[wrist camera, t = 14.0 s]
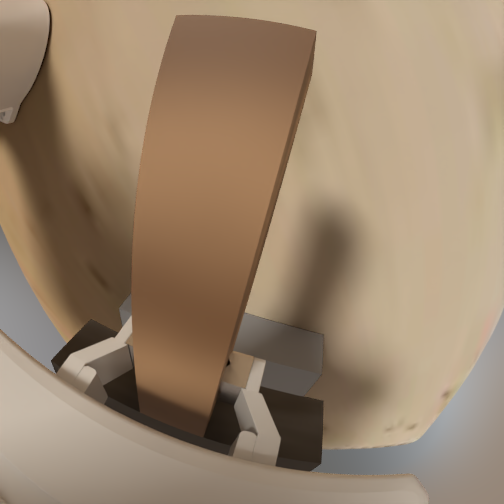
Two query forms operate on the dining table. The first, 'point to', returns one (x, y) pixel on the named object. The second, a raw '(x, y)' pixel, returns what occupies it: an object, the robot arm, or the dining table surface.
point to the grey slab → (274, 351)
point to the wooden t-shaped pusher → (209, 229)
